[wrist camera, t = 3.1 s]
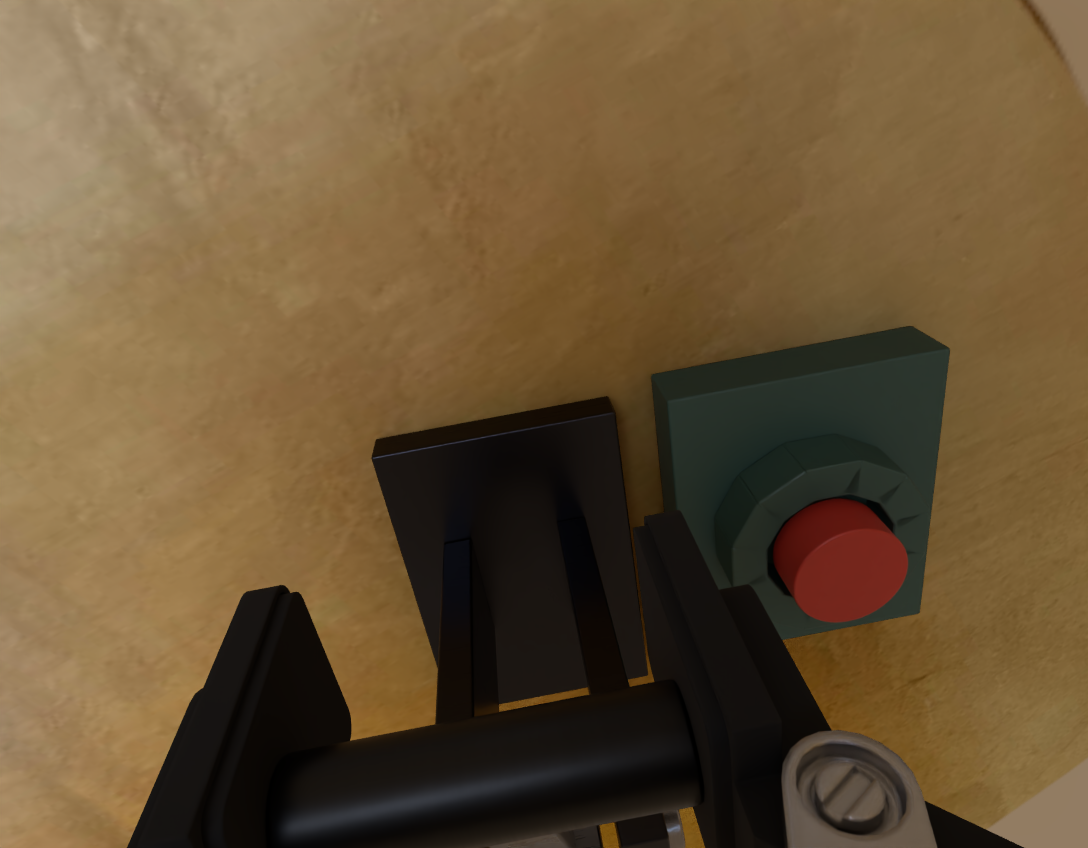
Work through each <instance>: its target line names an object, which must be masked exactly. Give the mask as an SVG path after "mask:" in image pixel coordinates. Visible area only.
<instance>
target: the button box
mask: <svg viewBox="0 0 1088 848" xmlns="http://www.w3.org/2000/svg"><path fill="white" fill-rule="evenodd" d="M949 354H950V349H949V348H948V347H947V346H945V345H943V344H942V343H940V342H938V341H936V340H935V339H933V338H931V337H930V336H928V335H926V334H925V333H923V332H921V331H919V330H918V329H916V328H914V327H913V326H908V327H903V328H898V329H892V330H887V331H882V332H876V333H871V334H866V335H860V336H855V337H850V338H844V339H839V340H833V341H828V342H823V343H817V344H812V345H807V346H801V347H796V348H791V349H785V350H780V351H775V352H769V353H764V354H759V355H753V356H748V357H742V358H737V359H732V360H726V361H721V362H716V363H710V364H705V365H700V366H694V367H689V368H684V369H678V370H673V371H668V372H662V373H657V374H653V375H652V376H651V380H652V390H653V400H654V411H655V421H656V431H657V442H658V452H659V462H660V473H661V483H662V493H663V504H664V512H669V511H675V510H680V511H681V512H682V514H683V516H684V518H685V520H686V522H687V525H688V527H689V529H690V531H691V533H692V535H693V537H694V539H695V541H696V543H697V545H698V547H699V550H700V552H701V554H702V556H703V558H704V560H705V562H706V564H707V566H708V568H709V570H710V573H711V575H712V577H713V579H714V581H715V583H716V585H717V587H718V589H719V590H720V589H725V588H730V587H735V586H741V585H746V584H749V585H750V586H751V587H752V588H753V589H754V591H755V592H756V594H757V595H758V597H759V599H760V601H761V603H762V604H763V606H764V608H765V610H766V612H767V614H768V615H769V617H770V619H771V621H772V623H773V624H774V626H775V628H776V630H777V632H778V634H779V635H780V637H781V639H782V640H784V639H789V638H795V637H800V636H805V635H810V634H815V633H821V632H826V631H831V630H836V629H841V628H846V627H852V626H857V625H862V624H867V623H872V622H878V621H883V620H888V619H893V618H898V617H904V616H909V615H914V614H918V613H920V605H921V597H922V588H923V579H924V571H925V562H926V553H927V545H928V536H929V527H930V519H931V510H932V501H933V493H934V484H935V475H936V467H937V458H938V450H939V441H940V432H941V424H942V415H943V406H944V398H945V389H946V380H947V372H948V363H949ZM835 498H844V499H851V500H855V501H858V502H860V503H863V504H864V505H866V506H868V507H869V508H870V509H871V510H872V511H873V512H874V513H875V514H876V515H877V516H878V517H879V518H880V520H881V521H882V522H883V523H884V524H885V525H886V526H887V527H888V528H889V529H890V531H891V532H892V533H893V534H894V535H895V536H896V537H897V538H898V539H899V540H900V542H901V543H902V544H903V546H904V548H905V550H906V553H907V557H908V569H907V574H906V577H905V580H904V582H903V584H902V586H901V587H900V589H899V590H898V592H897V593H896V594H895V595H894V596H893V597H892V598H891V599H890V600H889V601H888V602H887V603H886V604H885V605H883V606H882V607H881V608H879V609H878V610H876V611H874V612H873V613H871V614H869V615H866V616H864V617H862V618H859V619H856V620H852V621H847V622H825V621H821V620H817V619H815V618H813V617H811V616H809V615H807V614H806V613H805V612H803V611H802V610H801V609H800V607H799V606H798V605H797V603H796V601H795V600H794V598H793V596H792V595H791V593H790V592H789V590H788V588H787V587H786V585H785V583H784V582H783V580H782V579H781V577H780V575H779V574H778V572H777V570H776V568H775V565H774V562H773V548H774V543H775V541H776V538H777V536H778V534H779V532H780V530H781V529H782V528H783V526H784V525H785V524H786V523H787V521H788V520H789V519H790V518H792V517H793V516H794V515H795V514H796V513H798V512H799V511H801V510H802V509H804V508H806V507H807V506H810V505H812V504H814V503H817V502H820V501H823V500H827V499H835Z"/></svg>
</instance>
